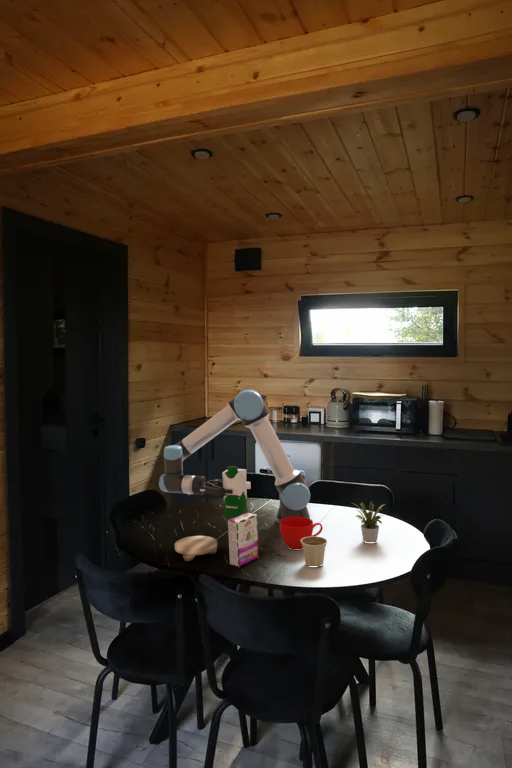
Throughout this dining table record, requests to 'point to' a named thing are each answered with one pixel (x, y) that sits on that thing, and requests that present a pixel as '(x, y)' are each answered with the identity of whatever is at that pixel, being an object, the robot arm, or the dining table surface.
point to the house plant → (369, 523)
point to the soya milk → (235, 503)
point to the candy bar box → (243, 539)
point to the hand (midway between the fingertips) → (245, 488)
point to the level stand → (195, 546)
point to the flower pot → (314, 550)
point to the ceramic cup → (297, 530)
